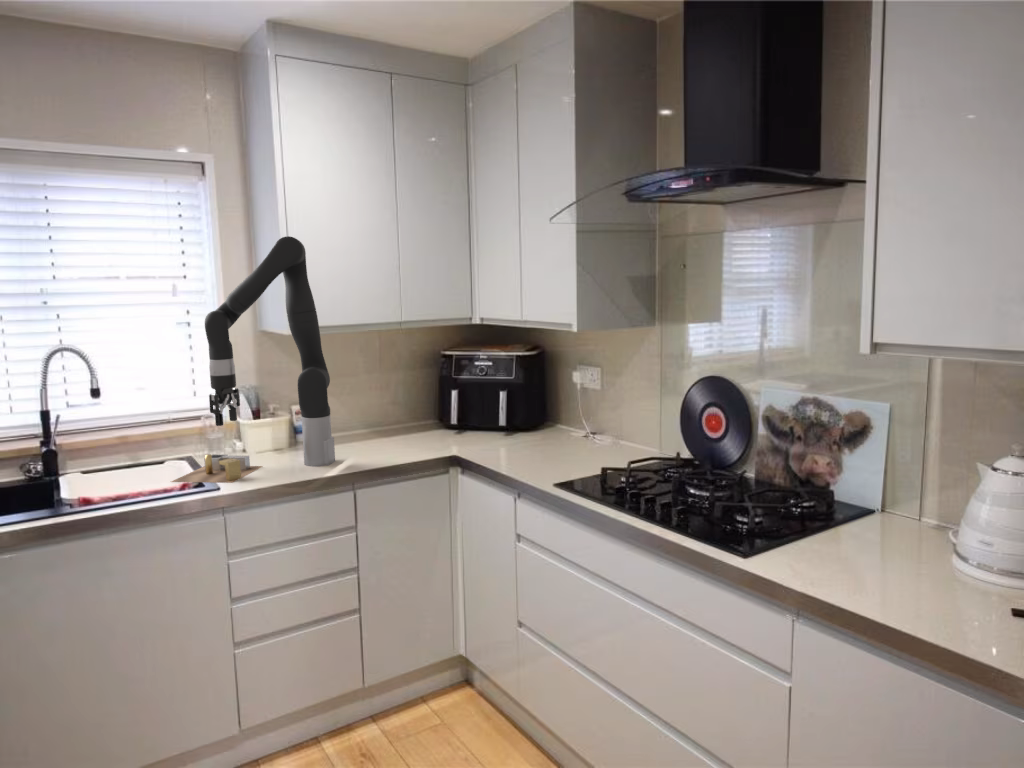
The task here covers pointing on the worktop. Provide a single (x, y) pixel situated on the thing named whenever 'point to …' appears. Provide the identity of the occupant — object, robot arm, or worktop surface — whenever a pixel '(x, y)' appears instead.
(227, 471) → the block
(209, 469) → the cylinder
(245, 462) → the link
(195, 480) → the board
